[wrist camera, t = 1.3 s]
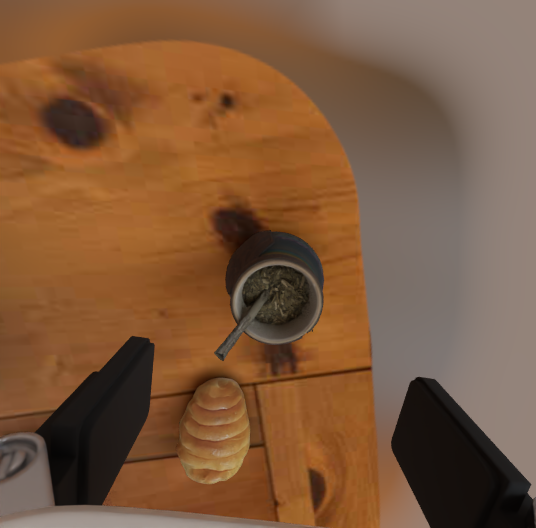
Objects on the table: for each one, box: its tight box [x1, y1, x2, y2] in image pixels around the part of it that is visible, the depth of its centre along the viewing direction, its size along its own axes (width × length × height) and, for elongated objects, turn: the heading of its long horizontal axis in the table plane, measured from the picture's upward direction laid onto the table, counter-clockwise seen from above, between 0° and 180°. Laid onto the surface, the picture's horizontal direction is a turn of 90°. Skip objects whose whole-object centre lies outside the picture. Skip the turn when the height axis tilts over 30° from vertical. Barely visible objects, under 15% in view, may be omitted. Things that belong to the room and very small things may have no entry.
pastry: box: [176, 378, 250, 484], centre depth 27 cm, size 9×7×4 cm
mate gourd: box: [214, 230, 324, 361], centre depth 20 cm, size 7×8×10 cm
